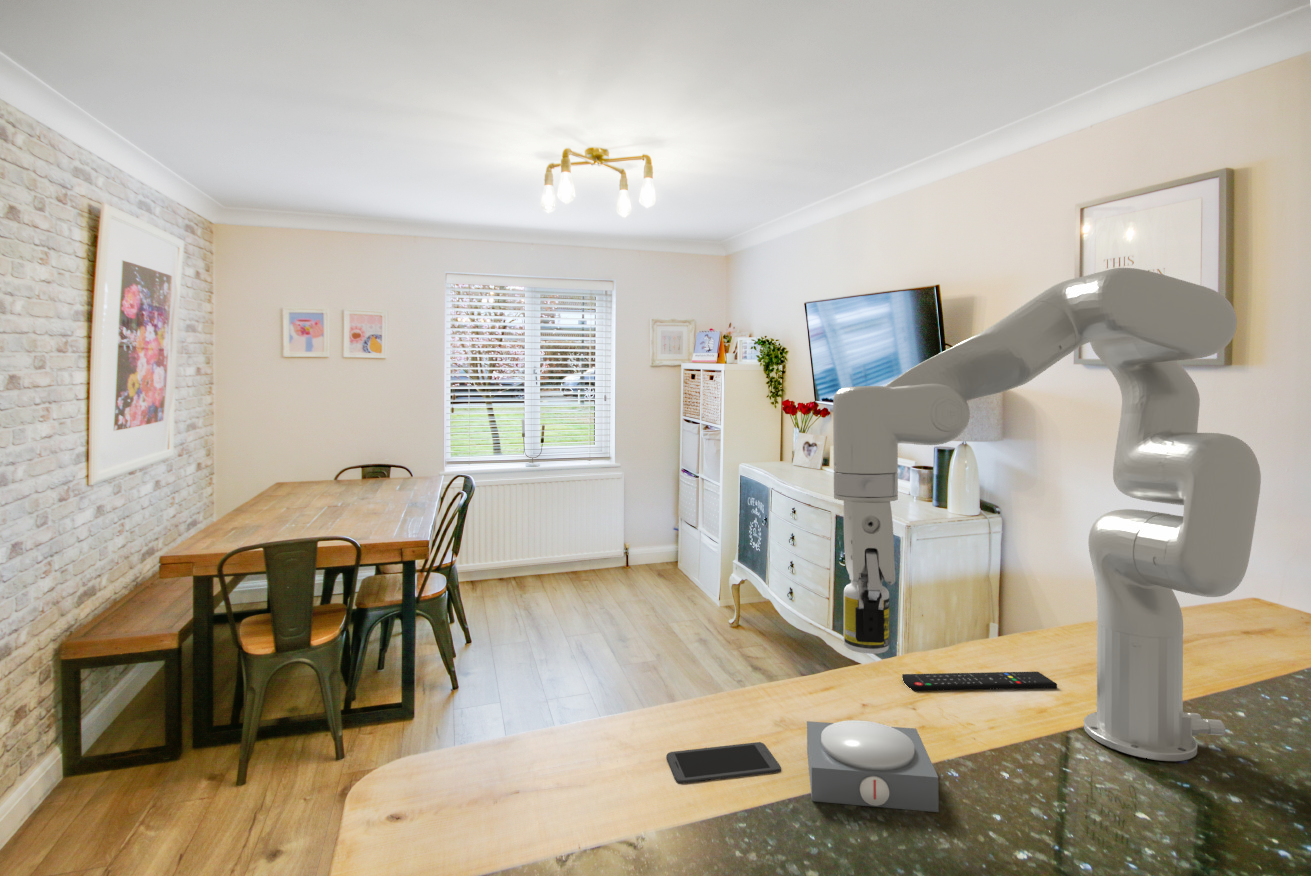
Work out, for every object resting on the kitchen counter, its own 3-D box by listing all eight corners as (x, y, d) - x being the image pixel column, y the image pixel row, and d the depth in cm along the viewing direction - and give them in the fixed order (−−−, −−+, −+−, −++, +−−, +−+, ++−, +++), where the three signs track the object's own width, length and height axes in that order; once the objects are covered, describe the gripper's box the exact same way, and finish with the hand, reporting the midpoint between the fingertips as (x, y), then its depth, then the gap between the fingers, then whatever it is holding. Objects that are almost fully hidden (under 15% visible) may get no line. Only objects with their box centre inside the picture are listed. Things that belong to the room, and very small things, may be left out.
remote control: (1057, 691, 108) (1057, 683, 108) (911, 694, 108) (911, 686, 108) (1037, 679, 113) (1037, 671, 113) (899, 681, 113) (899, 674, 113)
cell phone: (783, 774, 84) (783, 768, 84) (676, 787, 81) (676, 781, 81) (763, 746, 91) (763, 740, 91) (664, 757, 88) (664, 751, 88)
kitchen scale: (916, 758, 86) (916, 722, 86) (939, 815, 74) (939, 773, 74) (807, 750, 89) (806, 715, 89) (812, 803, 76) (811, 763, 76)
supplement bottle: (892, 656, 78) (892, 574, 78) (845, 653, 79) (844, 572, 79) (886, 641, 83) (885, 564, 83) (841, 638, 84) (841, 563, 84)
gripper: (911, 494, 72) (912, 659, 72) (885, 480, 89) (886, 614, 89) (840, 494, 73) (841, 656, 73) (828, 480, 90) (829, 611, 90)
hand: (866, 631), depth 81 cm, fingers closed on supplement bottle, 5 cm apart
